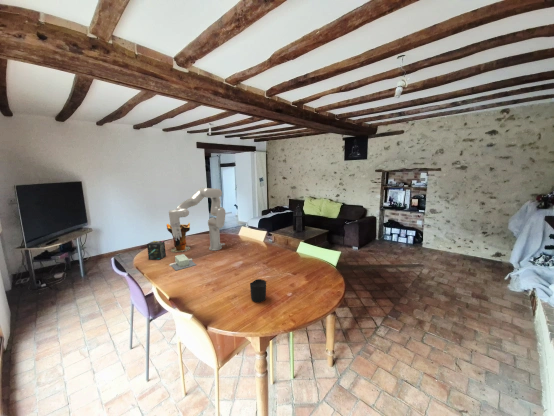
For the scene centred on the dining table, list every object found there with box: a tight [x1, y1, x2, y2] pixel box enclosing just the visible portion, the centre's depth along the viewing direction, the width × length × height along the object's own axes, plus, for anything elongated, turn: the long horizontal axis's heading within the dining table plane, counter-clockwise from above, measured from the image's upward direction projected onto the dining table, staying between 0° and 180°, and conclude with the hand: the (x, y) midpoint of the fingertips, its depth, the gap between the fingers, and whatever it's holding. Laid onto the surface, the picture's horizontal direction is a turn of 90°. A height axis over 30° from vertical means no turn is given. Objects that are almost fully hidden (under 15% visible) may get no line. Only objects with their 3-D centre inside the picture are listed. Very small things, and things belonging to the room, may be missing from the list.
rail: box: [169, 258, 193, 268], centre depth 189 cm, size 18×2×2 cm, turn 130°
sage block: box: [174, 253, 190, 267], centre depth 185 cm, size 7×5×12 cm
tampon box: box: [146, 240, 167, 261], centre depth 201 cm, size 11×9×15 cm
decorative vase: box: [166, 222, 191, 253], centre depth 222 cm, size 21×23×28 cm
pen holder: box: [249, 278, 267, 303], centre depth 133 cm, size 9×9×10 cm
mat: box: [171, 260, 197, 272], centre depth 184 cm, size 16×12×1 cm
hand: (178, 244), depth 194 cm, fingers closed
